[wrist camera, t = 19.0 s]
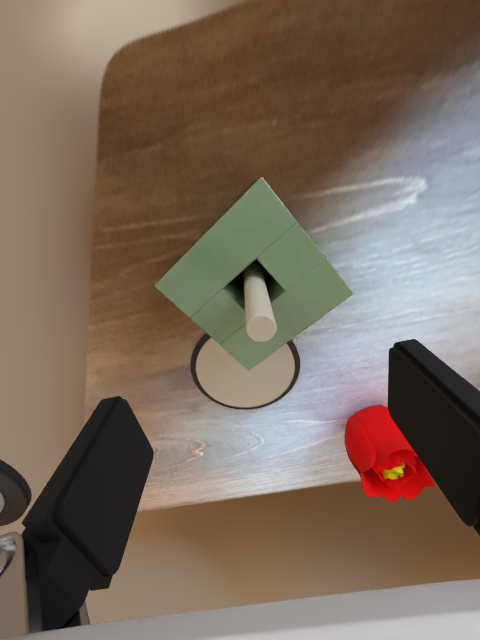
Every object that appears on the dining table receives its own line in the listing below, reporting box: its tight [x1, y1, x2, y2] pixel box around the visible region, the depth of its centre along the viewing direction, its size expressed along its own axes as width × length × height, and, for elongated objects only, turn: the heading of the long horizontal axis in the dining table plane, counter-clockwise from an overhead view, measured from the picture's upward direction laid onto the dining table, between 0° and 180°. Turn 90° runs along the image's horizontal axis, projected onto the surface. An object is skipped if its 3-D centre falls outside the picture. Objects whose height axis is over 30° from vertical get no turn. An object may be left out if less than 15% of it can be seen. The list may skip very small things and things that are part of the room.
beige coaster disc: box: [191, 333, 300, 409], centre depth 29 cm, size 12×12×1 cm
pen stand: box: [155, 177, 353, 371], centre depth 22 cm, size 10×10×6 cm
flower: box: [345, 405, 434, 502], centre depth 29 cm, size 8×8×8 cm
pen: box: [239, 258, 277, 342], centre depth 19 cm, size 2×2×12 cm
